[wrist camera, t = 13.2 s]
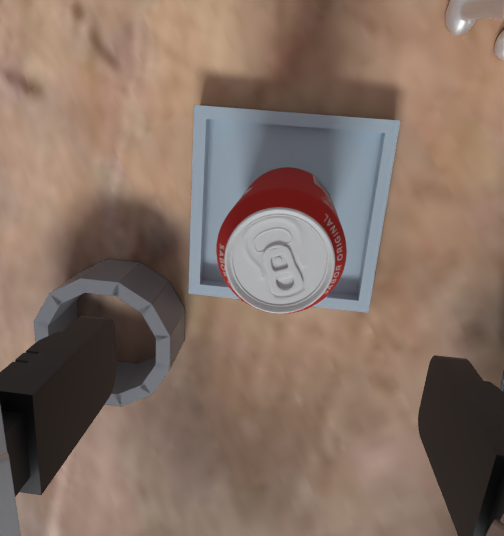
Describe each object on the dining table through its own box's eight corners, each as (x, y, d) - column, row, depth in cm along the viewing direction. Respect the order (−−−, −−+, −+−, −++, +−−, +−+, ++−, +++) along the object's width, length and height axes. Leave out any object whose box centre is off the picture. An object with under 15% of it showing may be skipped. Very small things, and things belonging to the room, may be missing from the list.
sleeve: (186, 267, 34) (170, 287, 30) (183, 379, 38) (168, 412, 33) (62, 254, 35) (29, 273, 31) (68, 365, 38) (40, 396, 34)
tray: (394, 120, 30) (400, 120, 28) (364, 302, 34) (368, 312, 32) (200, 105, 31) (194, 105, 29) (193, 285, 35) (188, 293, 33)
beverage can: (230, 182, 32) (189, 218, 20) (318, 153, 30) (327, 173, 19) (259, 265, 33) (237, 340, 22) (343, 240, 32) (366, 306, 21)
